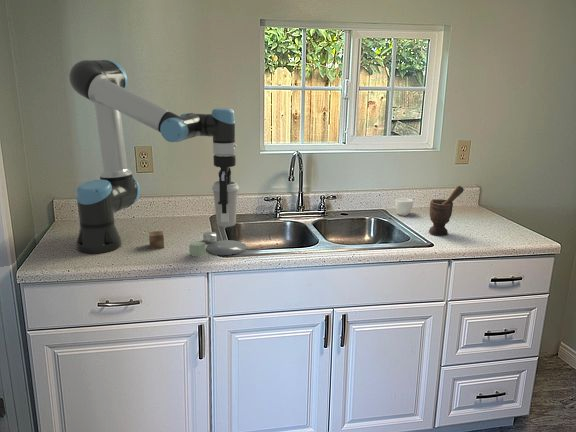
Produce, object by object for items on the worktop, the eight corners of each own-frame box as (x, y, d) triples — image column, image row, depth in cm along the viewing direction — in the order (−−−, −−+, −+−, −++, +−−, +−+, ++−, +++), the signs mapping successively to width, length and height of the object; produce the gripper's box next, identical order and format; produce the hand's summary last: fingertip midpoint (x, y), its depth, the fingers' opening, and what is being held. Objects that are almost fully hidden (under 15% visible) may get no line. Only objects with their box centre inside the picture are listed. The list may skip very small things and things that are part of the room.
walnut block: (150, 249, 190) (149, 236, 189) (149, 244, 195) (148, 231, 194) (164, 248, 192) (163, 235, 190) (163, 243, 196) (162, 230, 195)
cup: (396, 216, 234) (397, 201, 232) (391, 210, 243) (392, 196, 241) (413, 216, 234) (414, 202, 232) (408, 210, 243) (409, 196, 241)
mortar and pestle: (452, 230, 216) (458, 182, 210) (460, 236, 208) (466, 187, 202) (424, 230, 216) (429, 182, 210) (431, 237, 207) (436, 187, 202)
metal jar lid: (202, 243, 197) (202, 236, 196) (204, 239, 202) (204, 231, 201) (215, 243, 197) (215, 236, 196) (217, 239, 202) (217, 231, 201)
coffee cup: (235, 228, 184) (234, 186, 179) (209, 227, 185) (207, 185, 181) (243, 221, 193) (242, 180, 188) (217, 219, 194) (216, 179, 190)
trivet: (204, 255, 185) (204, 253, 185) (209, 242, 198) (209, 240, 198) (244, 255, 185) (244, 253, 185) (247, 242, 198) (247, 240, 198)
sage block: (189, 255, 185) (189, 244, 184) (195, 251, 188) (195, 241, 187) (199, 257, 183) (199, 246, 182) (205, 253, 187) (205, 242, 186)
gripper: (232, 159, 172) (234, 227, 178) (237, 149, 192) (239, 210, 198) (209, 159, 172) (211, 226, 178) (217, 149, 192) (218, 210, 198)
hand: (226, 218), depth 188 cm, fingers closed on coffee cup, 8 cm apart
